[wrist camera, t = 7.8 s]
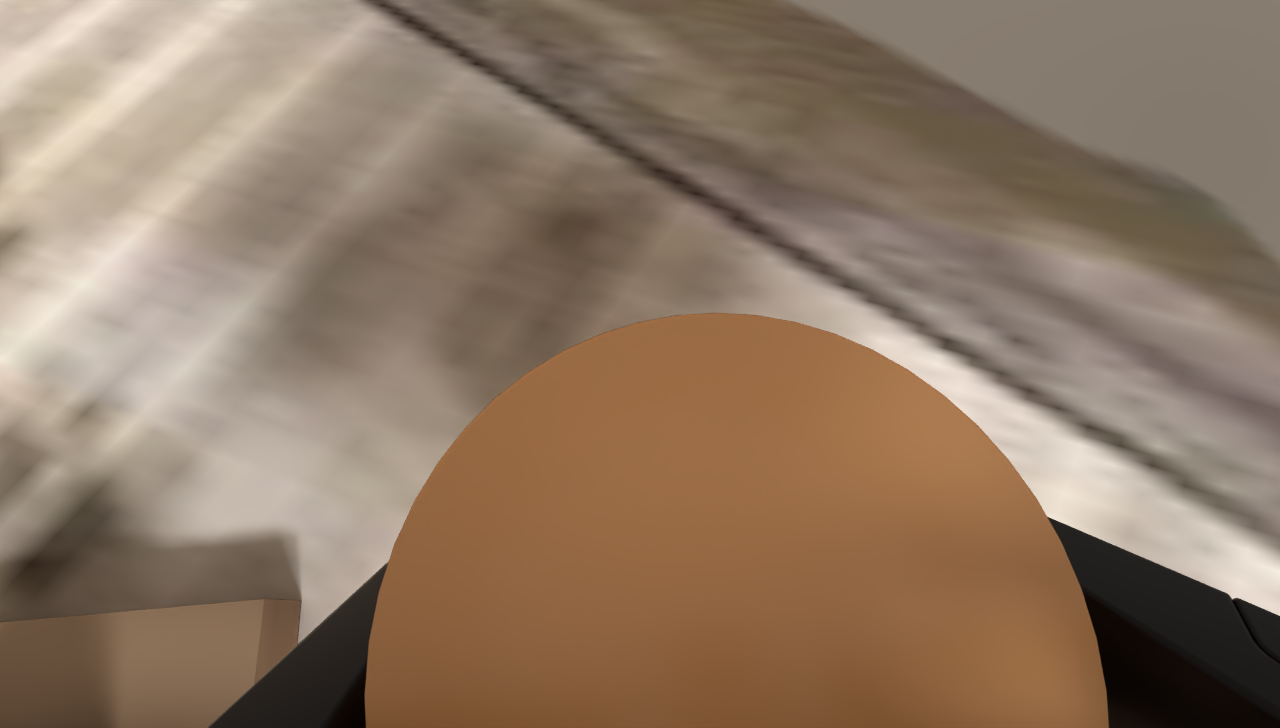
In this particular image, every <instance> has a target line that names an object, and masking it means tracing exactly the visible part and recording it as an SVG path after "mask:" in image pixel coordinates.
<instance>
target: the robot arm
mask: <svg viewBox="0 0 1280 728" xmlns="http://www.w3.org/2000/svg"><path fill="white" fill-rule="evenodd" d="M1047 518H1048V519H1049V521H1050V523H1051V525H1052V526H1053V528H1054V530H1055V532H1056V534H1057V535H1058V537H1059V539H1060V541H1061V543H1062V545H1063V547H1064V549H1065V552H1066V554H1067V556H1068V559H1069V561H1070V563H1071V566H1072V568H1073V570H1074V573H1075V575H1076V577H1077V580H1078V582H1079V584H1080V587H1081V589H1082V592H1083V596H1084V599H1085V602H1086V605H1087V609H1088V612H1089V615H1090V618H1091V622H1092V625H1093V628H1094V632H1095V635H1096V638H1097V643H1098V649H1099V654H1100V659H1101V665H1102V670H1103V676H1104V681H1105V686H1106V692H1107V707H1108V722H1109V728H1280V616H1278V615H1276V614H1274V613H1271V612H1269V611H1267V610H1265V609H1262V608H1260V607H1258V606H1255V605H1253V604H1251V603H1248V602H1246V601H1244V600H1241V599H1239V598H1234V599H1231V597H1230V596H1229V595H1228V594H1227V593H1225V592H1222V591H1220V590H1218V589H1215V588H1213V587H1211V586H1208V585H1206V584H1204V583H1201V582H1199V581H1196V580H1194V579H1192V578H1189V577H1187V576H1185V575H1182V574H1180V573H1178V572H1175V571H1173V570H1171V569H1168V568H1166V567H1164V566H1161V565H1159V564H1157V563H1154V562H1152V561H1150V560H1147V559H1145V558H1143V557H1140V556H1138V555H1136V554H1133V553H1131V552H1129V551H1126V550H1124V549H1122V548H1119V547H1117V546H1115V545H1112V544H1110V543H1107V542H1105V541H1103V540H1100V539H1098V538H1096V537H1093V536H1091V535H1089V534H1086V533H1084V532H1082V531H1079V530H1077V529H1075V528H1072V527H1070V526H1068V525H1065V524H1063V523H1061V522H1058V521H1056V520H1054V519H1051V518H1049V517H1047ZM388 563H389V562H387V563H386V564H385V565H384V566H383V567H382V568H381V569H380V570H379V571H378V572H376V573H375V574H374V575H373V576H372V577H371V578H370V579H369V580H368V581H367V582H366V583H364V584H363V585H362V586H361V587H360V588H359V589H358V590H357V591H356V592H355V593H354V594H352V595H351V596H350V597H349V598H348V599H347V600H346V601H345V602H344V603H343V604H342V605H340V606H339V607H338V608H337V609H336V610H335V611H334V612H333V613H332V614H331V615H330V616H328V617H327V618H326V619H325V620H324V621H323V622H322V623H321V624H320V625H319V626H317V627H316V628H315V629H314V630H313V631H312V632H311V633H310V634H309V635H308V636H307V637H305V638H304V639H303V640H302V641H301V642H300V643H299V644H298V645H297V646H296V647H295V648H293V649H292V650H291V651H290V652H289V653H288V654H287V655H286V656H285V657H284V658H283V659H281V660H280V661H279V662H278V663H277V664H276V665H275V666H274V667H273V668H272V669H271V670H269V671H268V672H267V673H266V674H265V675H264V676H263V677H262V678H261V679H260V680H258V681H257V682H256V683H255V684H254V685H253V686H252V687H251V688H250V689H249V690H248V691H246V692H245V693H244V694H243V695H242V696H241V697H240V698H239V699H238V700H237V701H236V702H234V703H233V704H232V705H231V706H230V707H229V708H228V709H227V710H226V711H225V712H224V713H222V714H221V715H220V716H219V717H218V718H217V719H216V720H215V721H214V722H213V723H211V724H210V725H209V726H208V727H207V728H366V715H365V686H366V673H367V660H368V647H369V640H370V634H371V629H372V624H373V619H374V614H375V609H376V604H377V599H378V594H379V590H380V587H381V584H382V581H383V578H384V575H385V572H386V569H387V566H388Z"/></svg>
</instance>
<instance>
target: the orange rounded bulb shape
mask: <svg viewBox="0 0 1280 728" xmlns="http://www.w3.org/2000/svg"><path fill="white" fill-rule="evenodd" d="M365 715H366V728H1109V722H1108V707H1107V692H1106V686H1105V681H1104V676H1103V670H1102V665H1101V659H1100V654H1099V649H1098V643H1097V638H1096V635H1095V632H1094V628H1093V625H1092V622H1091V618H1090V615H1089V612H1088V609H1087V605H1086V602H1085V599H1084V596H1083V592H1082V589H1081V587H1080V584H1079V582H1078V580H1077V577H1076V575H1075V573H1074V570H1073V568H1072V566H1071V563H1070V561H1069V559H1068V556H1067V554H1066V552H1065V549H1064V547H1063V545H1062V543H1061V541H1060V539H1059V537H1058V535H1057V534H1056V532H1055V530H1054V528H1053V526H1052V525H1051V523H1050V521H1049V519H1048V518H1047V516H1046V514H1045V512H1044V511H1043V509H1042V507H1041V505H1040V504H1039V502H1038V500H1037V498H1036V497H1035V496H1034V494H1033V493H1032V491H1031V490H1030V489H1029V487H1028V486H1027V485H1026V483H1025V482H1024V480H1023V479H1022V478H1021V476H1020V475H1019V473H1018V472H1017V471H1016V469H1015V468H1014V467H1013V465H1012V464H1011V462H1010V461H1009V460H1008V459H1007V457H1006V456H1005V455H1004V454H1003V453H1002V452H1001V451H1000V450H999V449H998V447H997V446H996V445H995V444H994V443H993V442H992V441H991V440H990V439H989V437H988V436H987V435H986V434H985V433H984V432H983V431H982V430H981V429H980V427H979V426H978V425H977V424H976V423H974V422H973V421H972V420H971V419H970V418H969V417H968V416H967V415H965V414H964V413H963V412H962V411H961V410H960V409H959V408H958V407H957V406H955V405H954V404H953V403H952V402H951V401H950V400H949V399H948V398H946V397H945V396H944V395H943V394H941V393H940V392H939V391H937V390H936V389H934V388H933V387H932V386H930V385H929V384H927V383H926V382H925V381H923V380H922V379H920V378H919V377H918V376H916V375H915V374H913V373H912V372H911V371H909V370H908V369H906V368H904V367H902V366H900V365H899V364H897V363H895V362H893V361H892V360H890V359H888V358H886V357H884V356H883V355H881V354H879V353H877V352H876V351H874V350H872V349H870V348H867V347H865V346H862V345H860V344H858V343H855V342H853V341H851V340H848V339H846V338H844V337H841V336H839V335H837V334H834V333H831V332H827V331H824V330H821V329H817V328H814V327H811V326H807V325H804V324H800V323H797V322H793V321H787V320H781V319H775V318H770V317H764V316H758V315H746V314H728V313H706V314H690V315H676V316H670V317H665V318H659V319H654V320H648V321H643V322H638V323H635V324H631V325H628V326H625V327H622V328H619V329H615V330H612V331H609V332H606V333H602V334H600V335H597V336H595V337H593V338H591V339H588V340H586V341H584V342H582V343H580V344H577V345H575V346H573V347H571V348H568V349H566V350H564V351H562V352H561V353H559V354H557V355H556V356H554V357H552V358H551V359H549V360H547V361H546V362H544V363H542V364H541V365H539V366H537V367H536V368H534V369H532V370H531V371H529V372H528V373H526V374H525V375H524V376H523V377H521V378H520V379H519V380H518V381H516V382H515V383H514V384H512V385H511V386H510V387H509V388H507V389H506V390H505V391H503V392H502V393H501V394H500V395H498V396H497V397H496V398H495V399H494V400H493V401H492V402H491V403H490V404H489V405H488V406H487V407H486V408H485V409H484V410H483V411H482V412H481V413H480V414H479V415H478V416H477V417H476V418H475V419H474V420H473V421H472V422H471V423H470V424H469V425H468V426H467V427H466V428H465V429H464V430H463V432H462V433H461V434H460V435H459V437H458V438H457V439H456V440H455V442H454V443H453V444H452V445H451V447H450V448H449V449H448V451H447V452H446V453H445V454H444V456H443V457H442V458H441V459H440V461H439V462H438V463H437V465H436V467H435V468H434V470H433V472H432V473H431V475H430V477H429V478H428V480H427V481H426V483H425V485H424V486H423V488H422V490H421V491H420V493H419V494H418V496H417V498H416V499H415V501H414V503H413V505H412V507H411V510H410V512H409V514H408V516H407V518H406V520H405V523H404V525H403V527H402V529H401V531H400V533H399V536H398V538H397V540H396V542H395V544H394V547H393V550H392V553H391V556H390V559H389V563H388V566H387V569H386V572H385V575H384V578H383V581H382V584H381V587H380V590H379V594H378V599H377V604H376V609H375V614H374V619H373V624H372V629H371V634H370V640H369V647H368V660H367V673H366V686H365Z"/></svg>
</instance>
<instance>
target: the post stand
mask: <svg viewBox="0 0 1280 728" xmlns="http://www.w3.org/2000/svg"><path fill="white" fill-rule="evenodd" d="M300 608H301V601H297V600H277V599H258V600H246V601H235V602H224V603H212V604H201V605H190V606H179V607H167V608H156V609H145V610H134V611H122V612H111V613H100V614H89V615H77V616H66V617H55V618H43V619H32V620H21V621H10V622H0V728H207V727H208V726H209V725H210V724H211V723H213V722H214V721H215V720H216V719H217V718H218V717H219V716H220V715H221V714H222V713H224V712H225V711H226V710H227V709H228V708H229V707H230V706H231V705H232V704H233V703H234V702H236V701H237V700H238V699H239V698H240V697H241V696H242V695H243V694H244V693H245V692H246V691H248V690H249V689H250V688H251V687H252V686H253V685H254V684H255V683H256V682H257V681H258V680H260V679H261V678H262V677H263V676H264V675H265V674H266V673H267V672H268V671H269V670H271V669H272V668H273V667H274V666H275V665H276V664H277V663H278V662H279V661H280V660H281V659H283V658H284V657H285V656H286V655H287V654H288V653H289V652H290V651H291V650H292V649H293V648H295V647H296V646H297V638H298V628H299V618H300Z"/></svg>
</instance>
